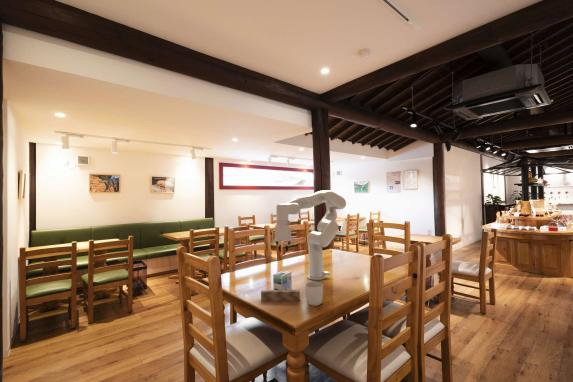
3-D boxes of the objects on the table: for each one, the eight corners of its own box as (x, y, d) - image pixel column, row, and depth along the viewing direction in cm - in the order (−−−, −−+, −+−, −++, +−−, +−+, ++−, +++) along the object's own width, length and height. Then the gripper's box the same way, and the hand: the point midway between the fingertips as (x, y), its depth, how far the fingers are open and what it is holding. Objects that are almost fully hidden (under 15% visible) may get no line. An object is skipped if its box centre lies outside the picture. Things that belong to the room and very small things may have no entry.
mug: (320, 307, 135) (319, 288, 135) (303, 305, 139) (303, 286, 139) (327, 298, 147) (326, 280, 147) (311, 296, 150) (310, 278, 150)
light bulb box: (282, 295, 154) (282, 276, 154) (273, 293, 157) (272, 274, 157) (292, 289, 163) (291, 271, 163) (282, 287, 166) (282, 270, 166)
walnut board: (299, 299, 146) (299, 290, 147) (299, 301, 144) (299, 291, 144) (261, 299, 148) (261, 290, 148) (261, 301, 146) (260, 291, 146)
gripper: (295, 222, 175) (296, 250, 174) (270, 222, 176) (271, 250, 176) (295, 223, 167) (296, 252, 167) (269, 223, 168) (269, 253, 168)
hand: (283, 251), depth 171 cm, fingers open, 3 cm apart
